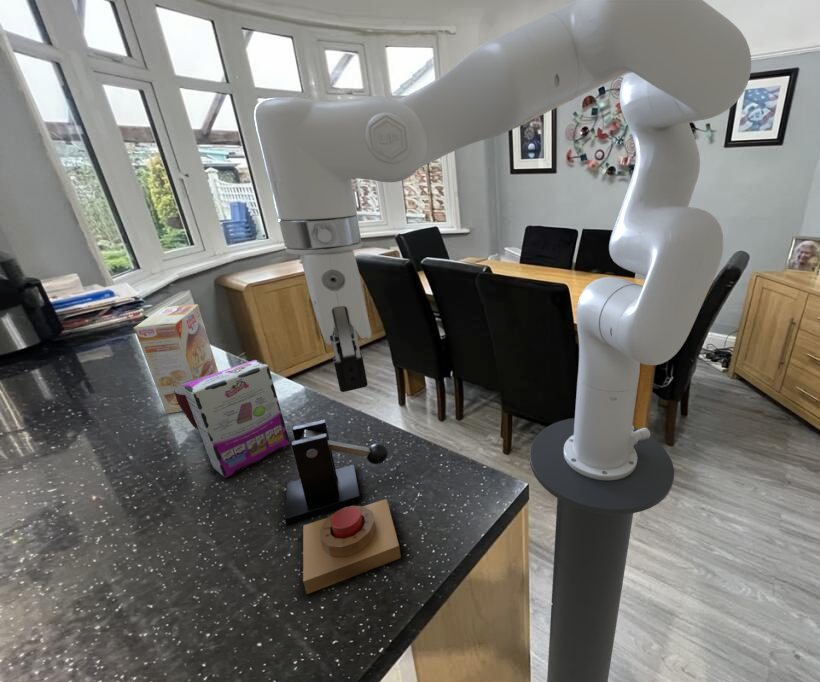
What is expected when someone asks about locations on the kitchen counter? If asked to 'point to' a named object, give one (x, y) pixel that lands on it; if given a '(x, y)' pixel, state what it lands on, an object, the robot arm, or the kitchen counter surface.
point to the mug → (185, 402)
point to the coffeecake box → (175, 350)
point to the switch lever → (354, 448)
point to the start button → (346, 522)
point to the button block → (348, 548)
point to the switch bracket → (318, 477)
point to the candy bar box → (237, 416)
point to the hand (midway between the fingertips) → (353, 386)
